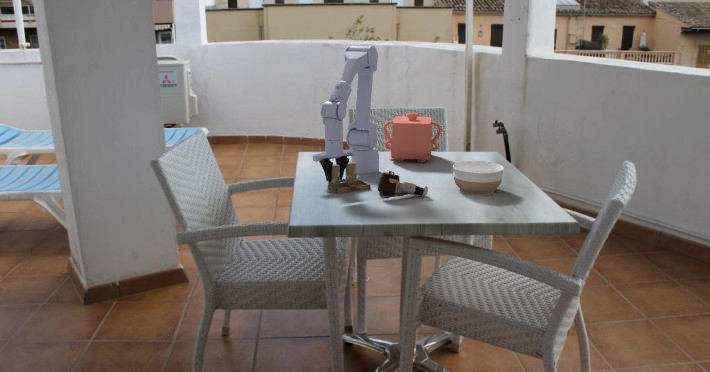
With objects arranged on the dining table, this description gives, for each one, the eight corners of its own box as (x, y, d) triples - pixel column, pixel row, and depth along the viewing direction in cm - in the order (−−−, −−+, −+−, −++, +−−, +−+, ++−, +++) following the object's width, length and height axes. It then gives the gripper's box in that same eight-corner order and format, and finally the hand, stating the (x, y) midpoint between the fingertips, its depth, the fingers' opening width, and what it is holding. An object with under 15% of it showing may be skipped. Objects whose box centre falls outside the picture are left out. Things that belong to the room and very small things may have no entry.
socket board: (361, 186, 196) (361, 180, 196) (370, 191, 191) (370, 184, 190) (327, 191, 191) (327, 184, 191) (336, 196, 186) (336, 189, 185)
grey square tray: (354, 181, 203) (354, 176, 202) (363, 185, 198) (363, 180, 197) (340, 183, 200) (340, 178, 200) (347, 187, 195) (347, 182, 195)
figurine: (431, 179, 181) (383, 167, 182) (425, 205, 179) (376, 192, 180) (426, 186, 190) (380, 174, 190) (421, 210, 188) (374, 199, 188)
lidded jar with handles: (386, 149, 253) (386, 106, 248) (440, 150, 250) (442, 107, 245) (380, 162, 229) (380, 116, 224) (440, 164, 226) (442, 117, 221)
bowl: (472, 200, 182) (473, 175, 180) (441, 187, 196) (442, 163, 193) (513, 193, 189) (515, 169, 187) (480, 181, 203) (482, 158, 201)
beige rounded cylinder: (337, 182, 199) (337, 163, 197) (342, 185, 195) (342, 166, 194) (326, 184, 197) (326, 165, 195) (331, 187, 194) (331, 167, 192)
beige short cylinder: (353, 180, 201) (353, 161, 200) (359, 182, 198) (359, 163, 196) (343, 181, 200) (342, 162, 198) (348, 184, 196) (348, 164, 194)
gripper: (346, 134, 199) (346, 174, 203) (307, 139, 191) (308, 180, 195) (358, 138, 193) (358, 178, 197) (318, 143, 186) (319, 185, 189)
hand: (334, 180), depth 196 cm, fingers closed on beige rounded cylinder, 4 cm apart
